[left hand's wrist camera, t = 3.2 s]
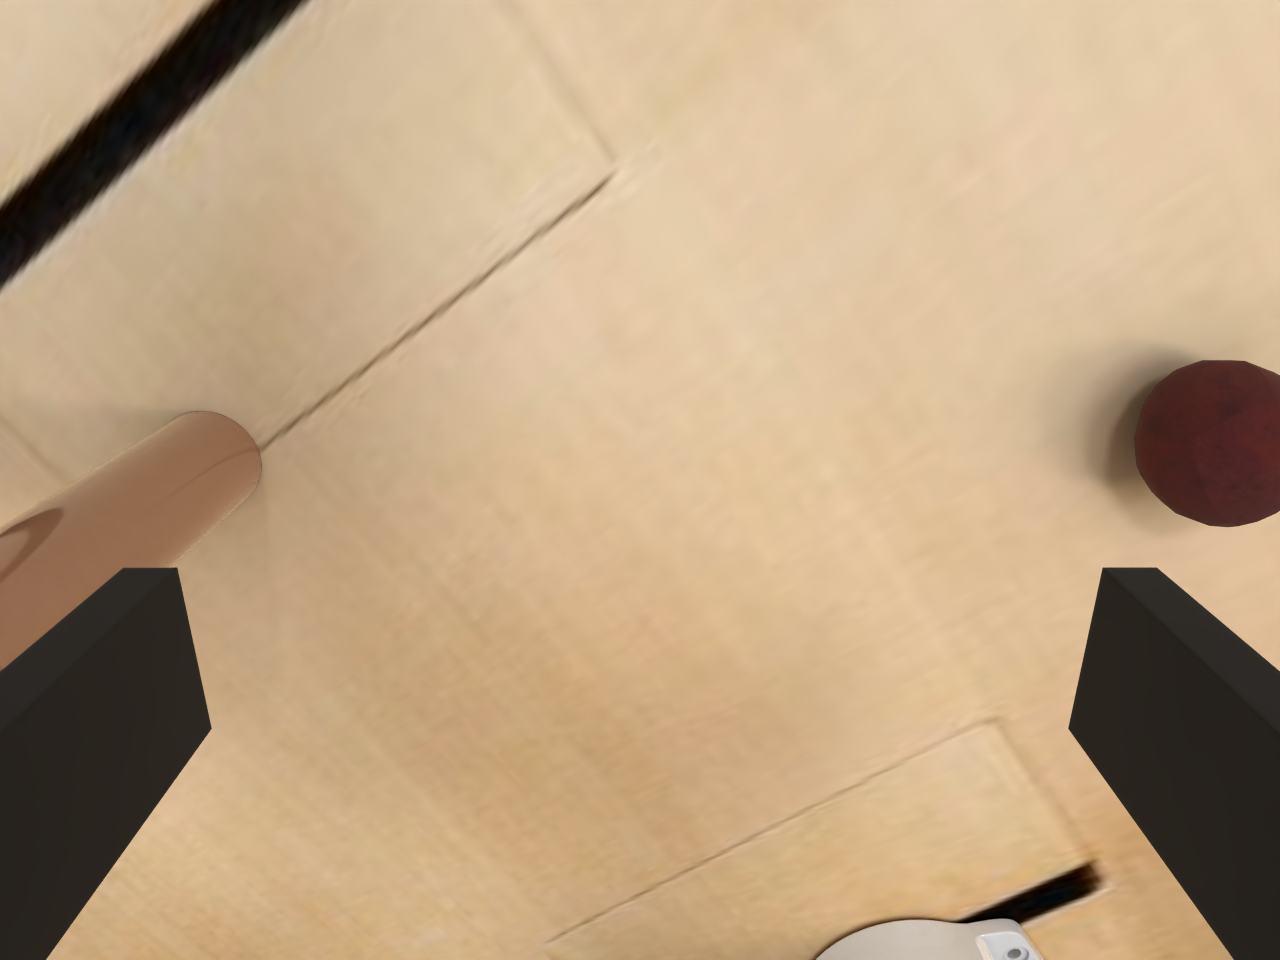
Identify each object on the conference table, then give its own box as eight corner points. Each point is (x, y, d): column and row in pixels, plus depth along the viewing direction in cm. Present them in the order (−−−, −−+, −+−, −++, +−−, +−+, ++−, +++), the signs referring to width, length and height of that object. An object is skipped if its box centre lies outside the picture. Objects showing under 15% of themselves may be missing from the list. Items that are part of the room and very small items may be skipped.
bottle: (276, 440, 45) (-104, 764, 22) (241, 522, 47) (-146, 902, 24) (177, 393, 44) (-326, 678, 21) (146, 478, 46) (-354, 828, 23)
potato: (1140, 514, 46) (1222, 578, 40) (1079, 395, 44) (1157, 441, 37) (1278, 440, 45) (1388, 493, 38) (1223, 312, 42) (1331, 345, 36)
